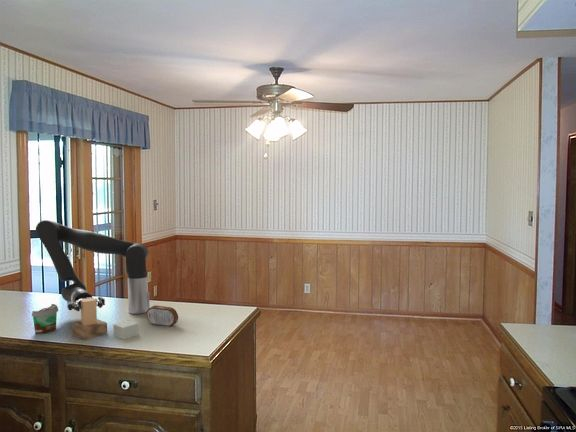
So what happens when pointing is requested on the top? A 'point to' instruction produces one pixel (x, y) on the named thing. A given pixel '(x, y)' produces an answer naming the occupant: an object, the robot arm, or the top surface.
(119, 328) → the grey block
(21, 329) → the top surface
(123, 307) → the top surface
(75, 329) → the walnut block
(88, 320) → the ochre pillar
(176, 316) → the tin
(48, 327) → the food container
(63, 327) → the top surface
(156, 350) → the top surface
